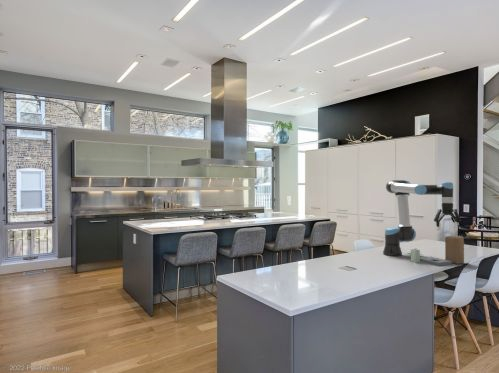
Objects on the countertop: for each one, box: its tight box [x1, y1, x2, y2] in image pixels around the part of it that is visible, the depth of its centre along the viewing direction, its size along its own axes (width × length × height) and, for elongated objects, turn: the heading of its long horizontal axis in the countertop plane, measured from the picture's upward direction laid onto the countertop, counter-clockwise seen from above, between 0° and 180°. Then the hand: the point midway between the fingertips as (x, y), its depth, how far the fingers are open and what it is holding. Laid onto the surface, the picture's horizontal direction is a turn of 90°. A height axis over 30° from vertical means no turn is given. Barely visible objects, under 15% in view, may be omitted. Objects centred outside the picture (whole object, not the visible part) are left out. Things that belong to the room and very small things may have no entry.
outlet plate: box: [419, 256, 453, 267], centre depth 262 cm, size 18×14×2 cm
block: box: [444, 235, 465, 265], centre depth 263 cm, size 10×10×20 cm
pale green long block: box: [410, 248, 421, 263], centre depth 265 cm, size 4×4×10 cm
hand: (447, 230), depth 257 cm, fingers open, 13 cm apart
